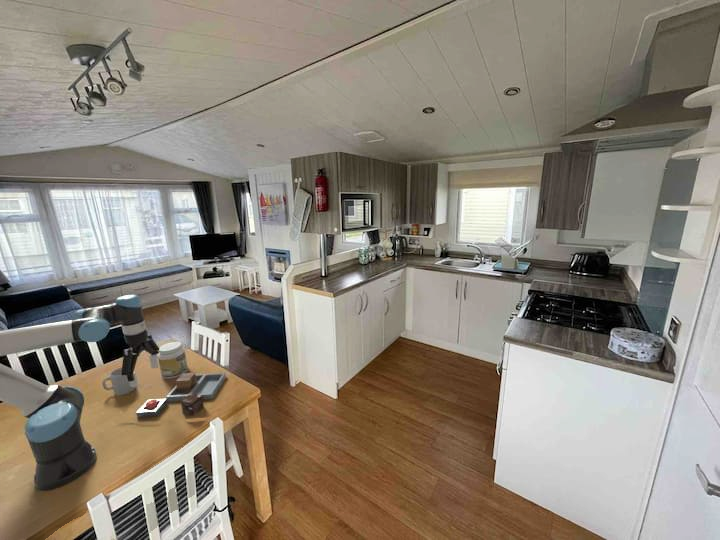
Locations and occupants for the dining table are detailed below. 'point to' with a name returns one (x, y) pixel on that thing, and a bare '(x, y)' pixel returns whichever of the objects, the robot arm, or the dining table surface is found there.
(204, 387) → the pallet
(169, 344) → the supplement tub
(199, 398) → the box
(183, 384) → the seated block
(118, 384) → the mug
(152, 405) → the button
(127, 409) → the dining table surface
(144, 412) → the white square piece
